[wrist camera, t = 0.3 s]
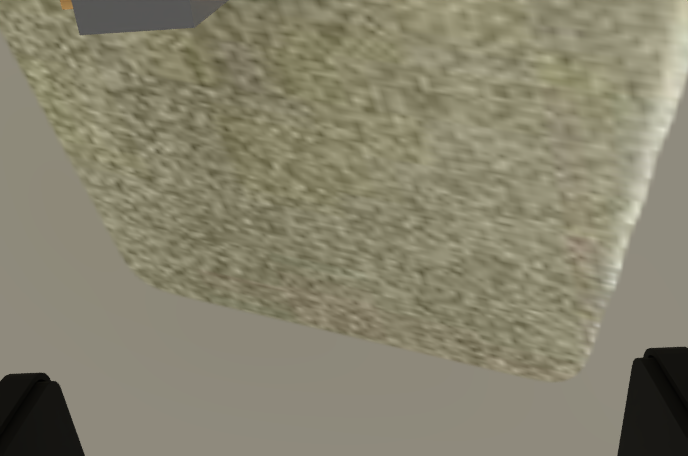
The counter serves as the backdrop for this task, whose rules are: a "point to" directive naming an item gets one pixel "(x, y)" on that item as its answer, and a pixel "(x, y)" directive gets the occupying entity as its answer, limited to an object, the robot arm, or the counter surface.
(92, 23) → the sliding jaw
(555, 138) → the counter surface
